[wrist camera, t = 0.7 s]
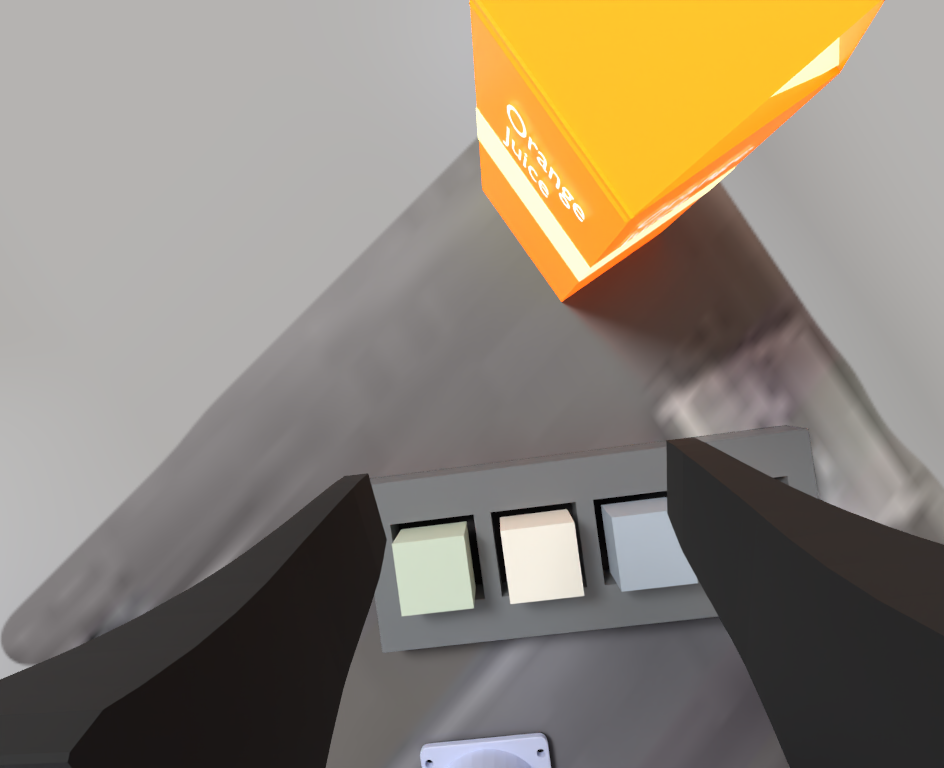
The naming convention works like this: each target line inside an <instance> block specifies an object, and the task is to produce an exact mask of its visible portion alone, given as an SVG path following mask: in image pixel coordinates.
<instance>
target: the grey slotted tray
mask: <svg viewBox="0 0 944 768" xmlns="http://www.w3.org/2000/svg"><path fill="white" fill-rule="evenodd" d="M691 438H696V439H699V440H701V441H703V442H705V443H707V444H709V445H711V446H713V447H715V448H717V449H719V450H721V451H722V452H724V453H726V454H728V455H730V456H732V457H734V458H736V459H738V460H739V461H741V462H743V463H745V464H747V465H749V466H751V467H753V468H755V469H757V470H759V471H761V472H763V473H764V474H766V475H768V476H770V477H772V478H774V479H776V480H778V481H781V482H783V483H785V484H787V485H789V486H791V487H793V488H795V489H797V490H800V491H802V492H804V493H806V494H808V495H811V496H813V497H815V498H817V499H818V493H817V486H816V478H815V471H814V464H813V457H812V449H811V442H810V435H809V429H807V428H800V427H794V426H787V425H785V426H777V427H769V428H762V429H754V430H746V431H738V432H730V433H723V434H715V435H707V436H699V437H691ZM684 439H685V438H684ZM370 482H371V486H372V489H373V493H374V496H375V500H376V503H377V507H378V510H379V514H380V517H381V521H382V524H383V528H384V531H385V535H386V538H387V542H386V547H385V553H384V559H383V564H382V569H381V573H380V578H379V581H378V584H377V587H376V590H375V593H374V594H375V602H376V609H377V616H378V623H379V631H380V638H381V645H382V653H385V652H394V651H403V650H412V649H422V648H431V647H440V646H449V645H459V644H468V643H477V642H486V641H496V640H505V639H514V638H523V637H533V636H542V635H551V634H560V633H570V632H579V631H588V630H597V629H607V628H616V627H625V626H634V625H644V624H653V623H662V622H671V621H681V620H690V619H699V618H708V617H718V614H717V612H716V611H715V609H714V607H713V605H712V604H711V602H710V600H709V598H708V597H707V595H706V593H705V591H704V590H703V588H702V586H701V584H700V582H699V581H698V579H697V582H698V583H695V584H686V585H677V586H669V587H660V588H651V589H642V590H633V591H624V592H622V591H621V589H620V588H619V586H618V584H617V583H616V581H615V579H614V578H613V576H612V574H611V573H610V570H603V569H602V562H601V554H600V547H599V540H598V533H597V525H596V518H595V511H594V504H593V500H595V499H604V498H612V497H620V496H628V495H636V494H644V493H652V492H661V491H667V446H666V441H660V442H653V443H645V444H637V445H629V446H621V447H614V448H606V449H598V450H590V451H582V452H575V453H567V454H559V455H551V456H543V457H536V458H528V459H520V460H512V461H505V462H497V463H489V464H481V465H473V466H466V467H458V468H450V469H442V470H434V471H427V472H419V473H411V474H403V475H396V476H388V477H380V478H372V479H370ZM563 503H571V504H572V511H573V518H574V524H575V531H576V539H577V546H578V553H579V560H580V568H581V575H582V582H583V589H584V596H579V597H570V598H561V599H553V600H544V601H535V602H526V603H517V604H510V597H509V590H508V583H507V581H505V582H501V575H500V567H499V560H498V553H497V545H496V538H495V531H494V524H493V516H492V512H498V511H506V510H514V509H522V508H530V507H538V506H547V505H555V504H563ZM465 515H474V522H475V529H476V536H477V544H478V551H479V558H480V566H481V573H482V580H483V584H479V585H476V591H475V602H474V608H472V609H463V610H454V611H445V612H437V613H428V614H419V615H410V616H402V615H401V607H400V600H399V593H398V585H397V578H396V571H395V564H394V556H393V549H392V543H393V541H394V540H395V538H396V537H397V535H398V534H399V532H400V531H399V524H400V523H408V522H416V521H424V520H433V519H441V518H449V517H457V516H465Z"/></svg>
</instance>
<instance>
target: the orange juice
mask: <svg viewBox="0 0 944 768" xmlns="http://www.w3.org/2000/svg"><path fill="white" fill-rule="evenodd" d="M884 1H885V0H470V2H469V4H470V7H471V9H470V10H471V23H472V39H473V55H474V69H475V85H476V100H477V107H476V117H477V132H478V139H479V146H480V161H481V176H482V190H483V191H484V192H485V194H486V195H487V197H488V198H489V200H490V201H491V202H492V204H493V205H494V207H495V208H496V209H497V211H498V212H499V214H500V215H501V217H502V218H503V219H504V221H505V222H506V224H507V225H508V227H509V228H510V229H511V231H512V232H513V234H514V235H515V236H516V238H517V239H518V241H519V242H520V244H521V245H522V246H523V248H524V249H525V251H526V252H527V253H528V255H529V256H530V258H531V259H532V261H533V262H534V263H535V265H536V266H537V268H538V269H539V271H540V272H541V273H542V275H543V276H544V278H545V279H546V280H547V282H548V283H549V285H550V286H551V288H552V289H553V290H554V292H555V293H556V295H557V296H558V298H559V299H560V300H561V302H562V301H564V300H565V299H567V298H568V297H569V296H571V295H572V294H574V293H575V292H577V291H578V290H580V289H581V288H582V287H584V286H585V285H587V284H588V283H590V282H591V281H592V280H594V279H595V278H597V277H598V276H600V275H601V274H602V273H604V272H605V271H607V270H608V269H610V268H611V267H612V266H614V265H615V264H617V263H618V262H620V261H621V260H622V259H624V258H625V257H627V256H628V255H630V254H631V253H632V252H634V251H635V250H637V249H638V248H640V247H641V246H642V245H644V244H645V243H647V242H648V241H650V240H651V239H653V238H654V237H655V236H657V235H658V234H660V233H661V232H662V231H664V230H665V229H666V228H667V227H668V226H669V225H670V224H671V223H672V222H674V221H675V220H676V219H677V218H678V217H679V216H680V215H681V214H683V213H684V212H685V211H686V210H687V209H688V208H689V207H690V206H691V205H693V204H694V203H695V202H696V201H697V200H698V199H699V198H700V197H702V196H703V195H704V194H706V193H707V192H709V191H710V190H711V189H712V188H713V187H714V186H715V185H716V184H718V183H719V182H720V181H721V180H722V179H723V178H724V177H725V176H727V175H728V174H729V173H730V172H731V171H732V170H733V169H734V168H736V165H737V164H738V163H740V162H741V161H742V160H743V159H744V158H745V157H746V156H747V155H748V154H749V153H751V152H752V151H753V150H754V149H755V148H756V147H757V146H758V145H760V144H761V143H762V142H763V141H764V140H765V139H766V138H767V137H769V136H770V135H771V134H772V133H773V132H774V131H775V130H776V129H778V128H779V127H780V126H781V125H782V124H783V123H784V122H785V121H787V119H789V118H790V117H791V116H792V115H793V114H794V113H795V112H797V111H798V110H799V109H800V108H801V107H802V106H803V105H804V104H806V103H807V102H808V101H809V100H810V99H811V98H812V97H813V96H814V95H816V94H817V93H818V92H819V91H820V90H821V89H822V88H823V87H825V86H826V85H827V84H828V83H829V82H830V81H831V80H832V79H833V78H835V77H836V76H837V75H838V74H839V73H840V71H841V70H842V68H843V66H844V65H845V63H846V61H847V60H848V59H849V57H850V55H851V54H852V52H853V51H854V49H855V47H856V46H857V44H858V43H859V41H860V39H861V38H862V36H863V35H864V33H865V31H866V30H867V28H868V26H869V25H870V23H871V22H872V20H873V19H874V17H875V15H876V14H877V12H878V11H879V9H880V7H881V6H882V4H883V2H884Z"/></svg>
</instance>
